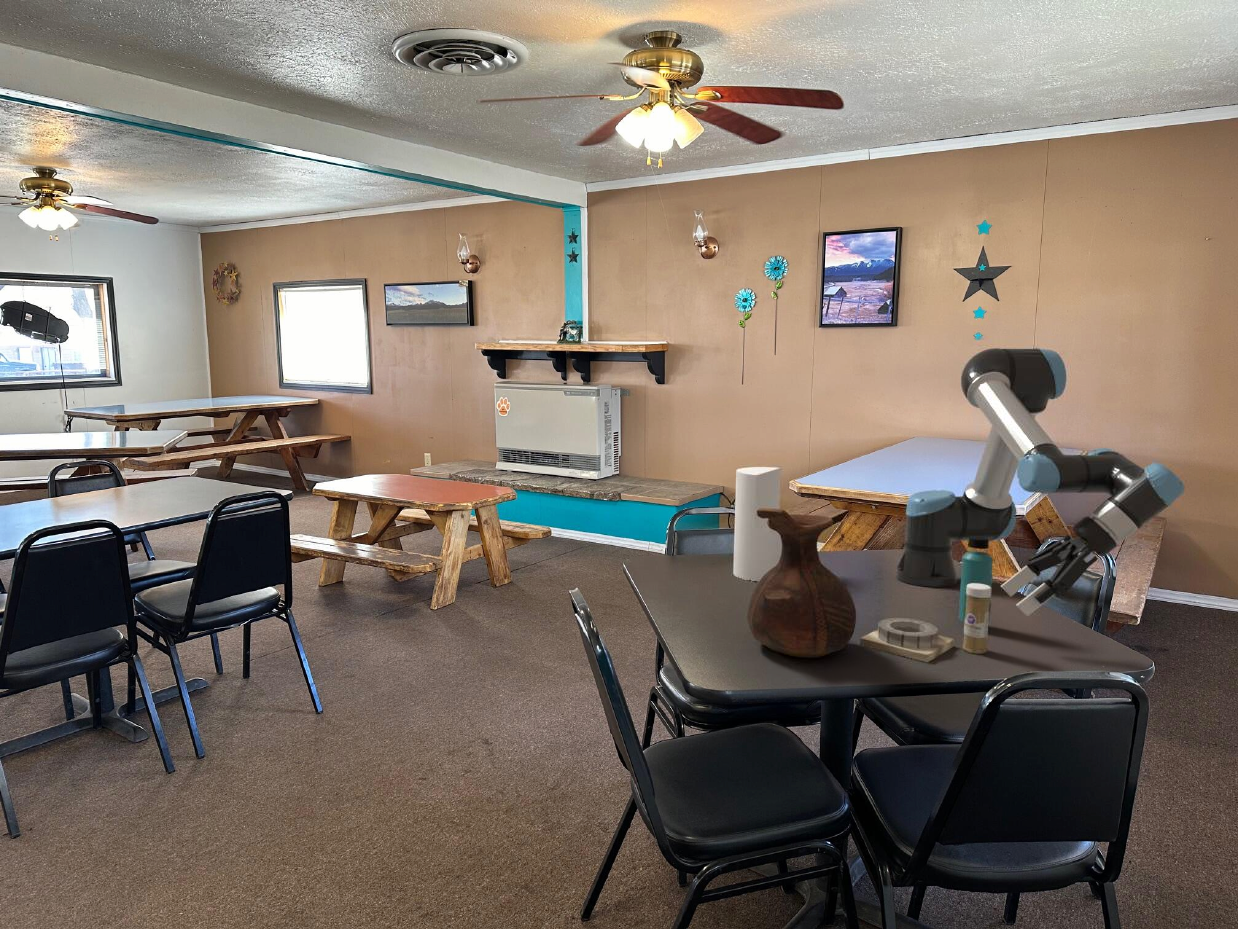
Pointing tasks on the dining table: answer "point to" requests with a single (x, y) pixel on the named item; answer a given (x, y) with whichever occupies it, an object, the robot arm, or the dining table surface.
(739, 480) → the white tall prism
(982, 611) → the sprinkles bottle
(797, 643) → the jug
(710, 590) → the dining table surface
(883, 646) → the plate
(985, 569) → the beverage bottle
